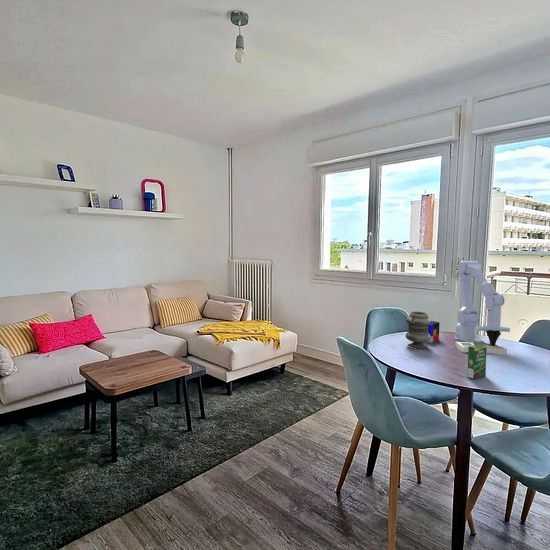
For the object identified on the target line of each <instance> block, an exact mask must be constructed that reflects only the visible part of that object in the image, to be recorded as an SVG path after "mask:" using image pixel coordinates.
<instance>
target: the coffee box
mask: <svg viewBox="0 0 550 550" xmlns="http://www.w3.org/2000/svg"><path fill="white" fill-rule="evenodd" d="M486 351H487V345H485V344H482V343H480V344H476V345H472V346H469V347H468V353H467V354H468V355H467V374H466V375H467V378H468V379H471V380H477V379H479V378H484V377H487V375H486V374H487V371H486V370H487V353H486Z"/></svg>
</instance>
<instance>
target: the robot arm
mask: <svg viewBox="0 0 550 550" xmlns="http://www.w3.org/2000/svg"><path fill="white" fill-rule="evenodd" d="M482 268H483V267H482V264H481V262H480V261H479V260H461V261H459V263H458V265H457V274H458V279H459V287H460V288H459V289H460V296H461V305H462V307H461V308H459V309H458V311H457V321H458V323H457V324H456V326H455V337H454V339H455V340H458V341H460V342H471V343H474V341H480V340H479V339H476V331H478V332H483V331H484V332H485V333H486V335H487V336H488V337H487V338H488V339H489V343H490V345H492V346H495V344H496V343H497V341H498V339H499V337H500V336H501V335H502V332H507V333H511V327H507V326H501V319H502V318H501V315H502V306H503V305H504V304H505V298H504V296H503V294H500V293H499V292H498V291H497V290H496V288H495V286H494V285H493V284H492V283H491V282H488V280H487V278H486V277H485V274H484V273H483V271H482ZM473 277H474V278H475V280H476V281H477V283H479V285H480V286H479V289H480V291H481V293H482V295H483V296H484V298H485V299H484V302H485V305H486V310H487V312H486V313H487V315H486V325H484V326H483V325H480V326H479V325H478V323H480V320H481V317H480V314H479V310H478V309H477V308H475V306H474V302H473V291H472V282H471V279H472V278H473ZM477 325H478V326H477Z"/></svg>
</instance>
